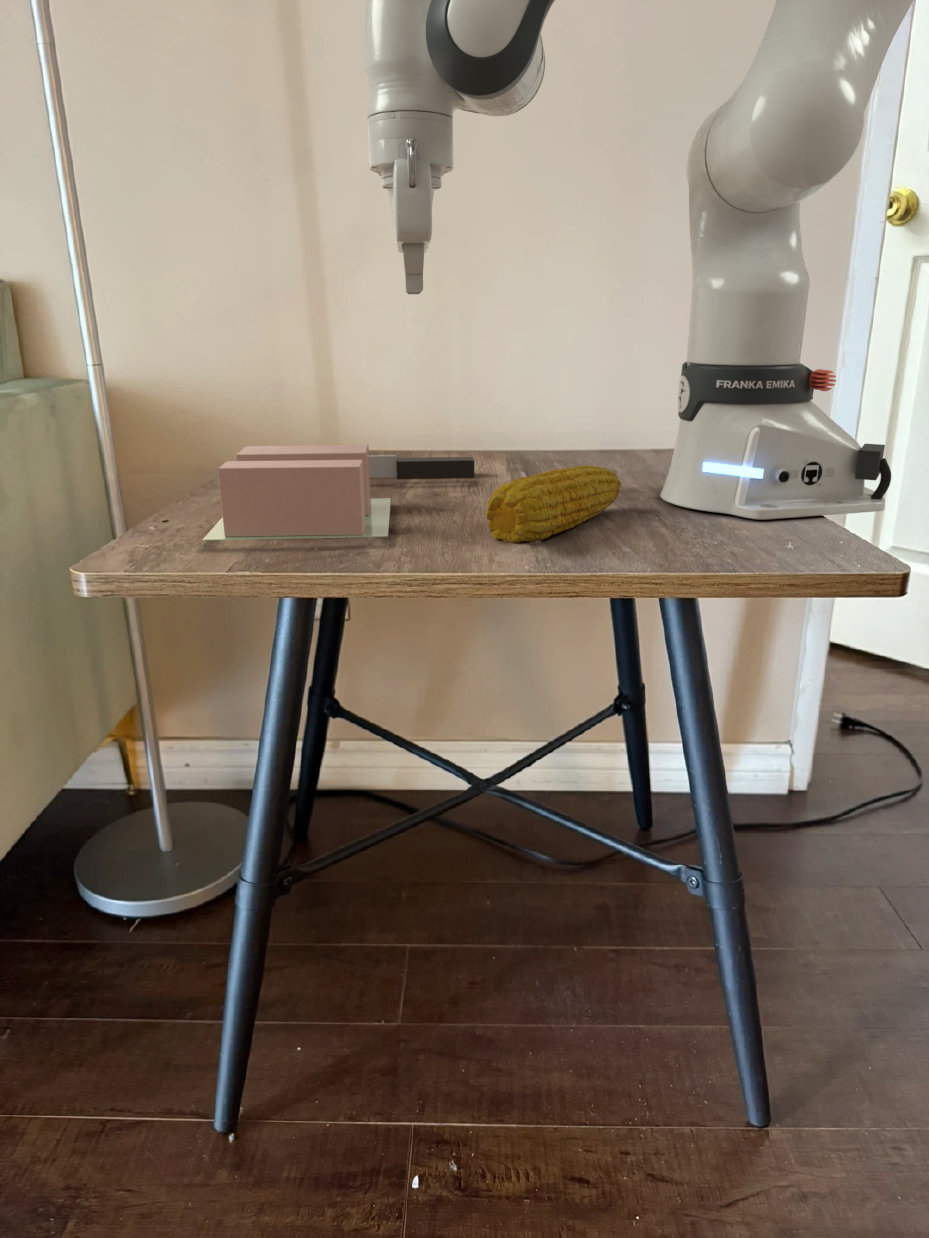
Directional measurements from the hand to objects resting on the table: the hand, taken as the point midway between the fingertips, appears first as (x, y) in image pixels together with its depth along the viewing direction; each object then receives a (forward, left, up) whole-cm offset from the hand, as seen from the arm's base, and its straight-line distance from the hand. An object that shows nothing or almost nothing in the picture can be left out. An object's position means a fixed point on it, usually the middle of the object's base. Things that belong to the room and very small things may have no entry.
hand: (414, 293), depth 94 cm
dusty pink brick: (+11, +26, -20) cm, 34 cm away
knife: (+5, 0, -21) cm, 22 cm away
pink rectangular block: (+11, +17, -20) cm, 29 cm away
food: (-13, +23, -21) cm, 34 cm away
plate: (+11, +20, -21) cm, 31 cm away
